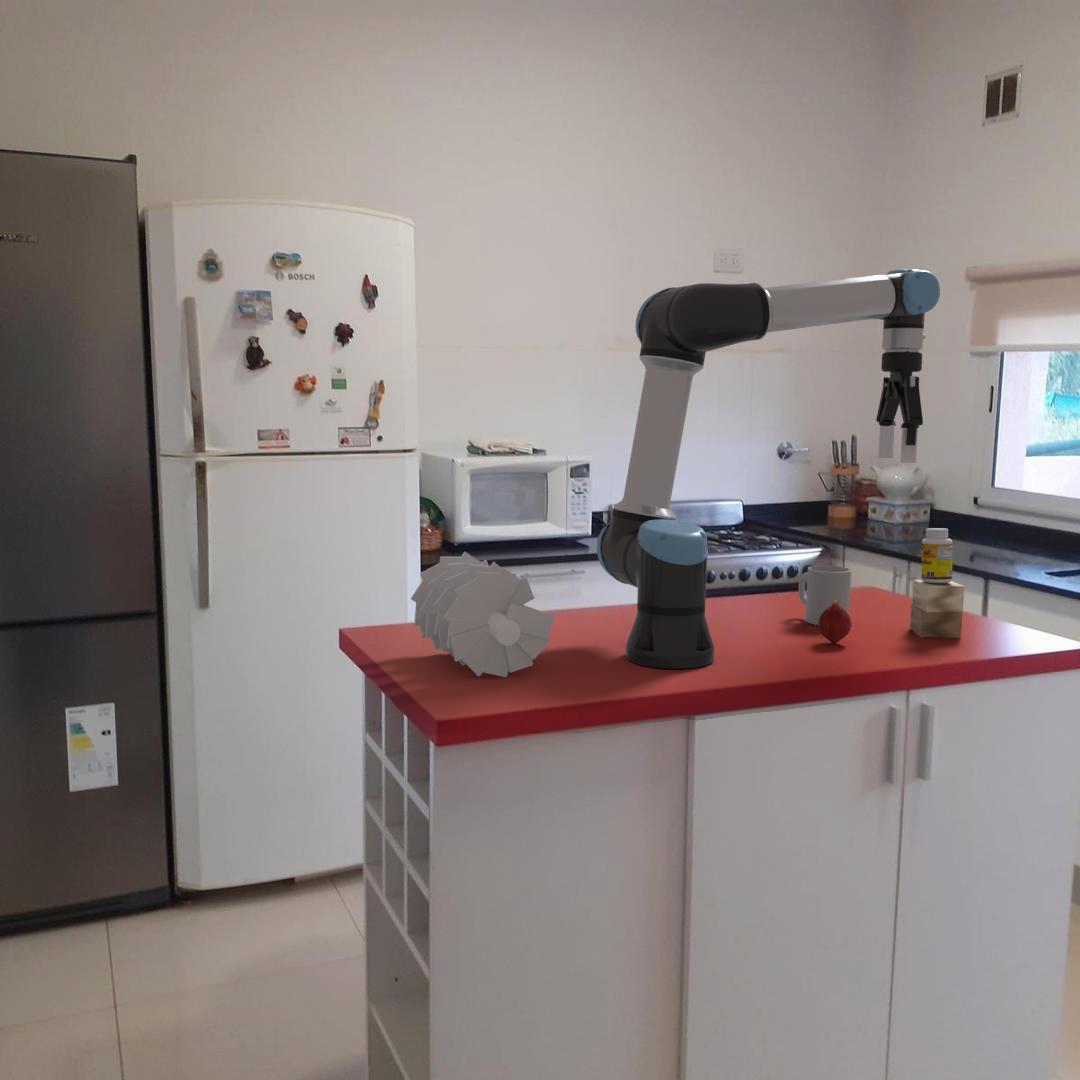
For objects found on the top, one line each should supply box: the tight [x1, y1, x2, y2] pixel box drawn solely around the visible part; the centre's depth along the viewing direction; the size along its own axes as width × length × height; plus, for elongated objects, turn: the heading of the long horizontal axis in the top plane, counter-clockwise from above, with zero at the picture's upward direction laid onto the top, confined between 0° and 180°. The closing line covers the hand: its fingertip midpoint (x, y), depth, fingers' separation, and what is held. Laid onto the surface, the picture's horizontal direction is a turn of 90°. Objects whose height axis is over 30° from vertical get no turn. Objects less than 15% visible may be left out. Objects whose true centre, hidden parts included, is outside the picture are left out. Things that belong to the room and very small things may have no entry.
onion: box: [818, 601, 852, 644], centre depth 201 cm, size 6×6×8 cm
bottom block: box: [909, 603, 963, 639], centre depth 211 cm, size 8×8×5 cm
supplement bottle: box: [921, 527, 954, 583], centre depth 209 cm, size 6×6×10 cm
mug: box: [798, 565, 852, 626], centre depth 221 cm, size 12×8×11 cm
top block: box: [911, 579, 965, 613], centre depth 210 cm, size 7×7×5 cm
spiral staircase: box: [410, 551, 556, 678], centre depth 183 cm, size 18×18×25 cm
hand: (896, 460), depth 217 cm, fingers open, 13 cm apart
